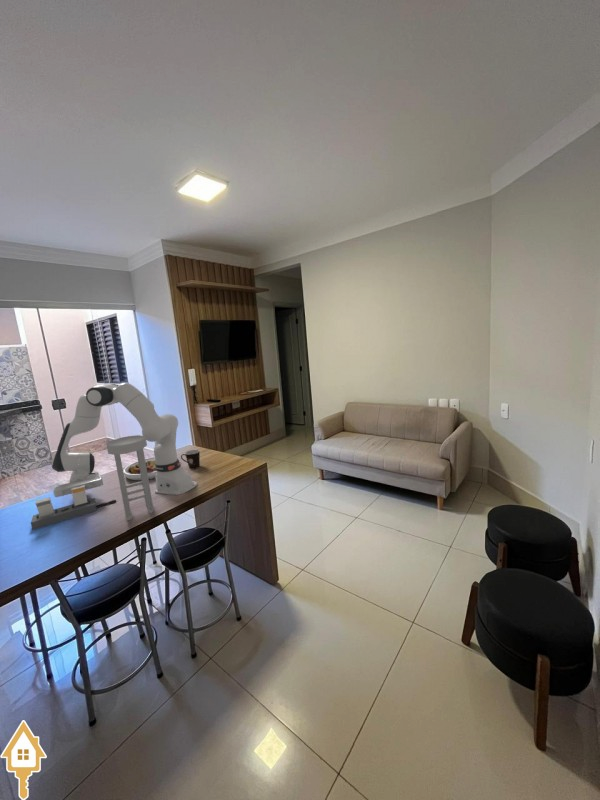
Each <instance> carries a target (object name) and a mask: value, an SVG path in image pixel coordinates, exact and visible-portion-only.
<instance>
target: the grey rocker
mask: <svg viewBox="0 0 600 800" xmlns="http://www.w3.org/2000/svg"><path fill="white" fill-rule="evenodd" d="M35 506H36V508H37V511H38V514H39V515H40V516H44V515H47V514H51V513H54V506H53V503H52V500H51V497H50V496H49V497H45V498H42V499H37V500H35Z"/></svg>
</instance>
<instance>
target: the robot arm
mask: <svg viewBox="0 0 600 800" xmlns="http://www.w3.org/2000/svg"><path fill="white" fill-rule="evenodd" d="M118 403H120V405H122V406H123V407H124V408H125V409H126V410H127V412H129V413H130V414H131V415H132V416H133V417H134V418H135V419H136V420H137V422H138V425H140V427H141V430H142V431H141V434H142V435H141V436H145V438H146V442H147V441H148V442H151V443H152V442H155V445H154V447H153V455H154V456H153V457H155V462H156V463H155V468H156V471H157V474H156V478H155V486H156V487H155V490H154V493H155V494H161V495H163V494H164V495H172V496H173V495H175V496H179V495H182V494H185V493H186V492H188V491H190V490H192V489H194V488H195V487H197V485H198V482H196V481H194V480H192V475H191V474H190V472H189V471H187V470H186V469H184V467H182V462H181V461H180V459H179V458H178V454H177V453H178V452H177V445H176V444H177V443H176V442H177V431H178V430H177V429H178V426H179V420H178V417H176V416H175V415H174V414H169V413H167V414H162V415H160V416H159V415H158V412H157V411H156V409H155V405H154V403H153V402H152V401H151V400H150V399H149V398H148V397H146V395H145V394H144V393H143V392H141V391H140V390H139V389H138V388H137V387H135V386H134V385H133V384H131V383H129V382H123V383H119V384H117V383H116V384H115V383H111V384H110V383H109V384H108V383H107V384H106V383H105V384H100V385H99V384H98V385H95V386H94V385H93V386H92V387H90V388H88V390H87V391H86V393H85V394H82V395H80V397H79V398H78V401H77V403H76V407H75V414H74V417H73V419H72V420H71V422H68V423H67V424H66V425H65V427H64V430H63V432H62V434H61V436H60V440H59V443H58V446H57V448H56V449H57V450H56V452H55V454H54V455H53V457H52V460H51V469H52V470H53V471H54V472H55V471H56V472H57V473H63V472H72V473H71V474H70V479H69V481H68V482H67V483H63V484H60V485H57V486H56V487H55V488H54V489H53V495H54V496H53V497H54V498H60V497H64V496H67V495H71V494H72V490H71V489H73V488H77V487H81V486H84V487H85V491H86V490H90V489H93V488H94V489H95V488H98V487H102V486H103V485H104V480H103V477H102V475H100V473H99V471H98V472H96V471H94V469H95V465H96V464H95V462H96V461H95V460H96V458H95V456H94V455H93V453H91V452H82V451H81V452H69V451H67V449H68V447H69V444H70V441H71V439H72V438H73V437H75V436H77V435H80V434H84V433H88V432H91V431H93V430H94V429H96V428H97V427H98V425H99V424H100V419H101V411H102V407H104V406H112V405H115V404H118ZM93 471H94V472H93Z"/></svg>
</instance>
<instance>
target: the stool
mask: <svg viewBox="0 0 600 800" xmlns="http://www.w3.org/2000/svg"><path fill="white" fill-rule="evenodd" d="M147 446H148V443H147V440H146V438H145V436H143V435H140V434H139V435H138V434H135V435H128V436H123V437H118V438H115V439H112V440H110V441H108V442H107V443H106V450H107V454H109V455H113V456H114V461H115V467H116V472H117V477H118V482H119V488H120V492H121V497H122V498H121V500H122V503H123V508H124V514H125V518H126V521H131V520H132V519H133V517H132V511H131V510H132V509H131V506H130V502H133V501H136V500H139V499H143V498H144V502H145V506H146V507H147V512H148V514H152V513H154V512H155V509H154V505H153V498H152V492H151V488H150V487H151V486H150V479H148V474H147V468H146V462H145V459H146V458H145V457H146V456H145V452H144V448H145V447H146V448H147ZM133 452H134V453H135V452H136V457H137V461H138V463H139V469H140V474H141V480H140V481H138V482H137V481H136V482H134V483H130V484H126V479H125V475H124V468H123V463H122V458H121V455H125V454H129V453H133ZM140 485H142V487H138V488H134V487H137V486H140ZM132 487H133V488H134V489H131V490H128V489H129V488H132ZM140 492H143V493H142V494H139V495H136V496H132V497H129V496H131V495H134V494H138V493H140Z"/></svg>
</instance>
